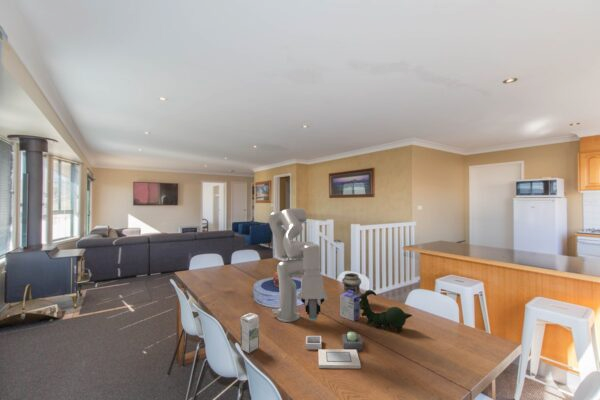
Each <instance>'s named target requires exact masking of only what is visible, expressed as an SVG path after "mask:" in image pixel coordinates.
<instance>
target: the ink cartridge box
mask: <svg viewBox="0 0 600 400" xmlns="http://www.w3.org/2000/svg"><path fill="white" fill-rule="evenodd" d="M349 292H352V293H349ZM342 293H343V292H342ZM342 293H341V294H340V293H339V294H340V295H339V303H340V304H339V305H340V306H339V308H340V309H339V311H340V312H339V315H340V317H342V318H344V319H347V320H350V321H352V322H355V321H358V320H361V319H360V318H361V316H360V315H361V312H360V310H361V309H360V307H361V306H360V305H361V303H360V299H359V296H356V295H353V293H354V291H351V290H348V293H343V294H342Z"/></svg>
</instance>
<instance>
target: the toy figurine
mask: <svg viewBox="0 0 600 400" xmlns="http://www.w3.org/2000/svg"><path fill="white" fill-rule="evenodd" d="M370 295H373V296H377V293H376V292H375V291H374V290H371V289H368V290H365V292H364V293H362V294H361V296H360V300H359V302H360V305H361V306H360V310H362V312H360V315H361V316H362V317H364V316H365V317H366V318H367V320H366V323H367V325H371V323H372V324H373V325H374V328H375V329H379V327H380V326H381V327H382V329H384V330H387V329H389V327H393V328H395V330H396V332H399V333H400V332H402V331H403V327H404V325H405V324H406V320H407V319H409V318H411V317H412V316H413V315H412V314H411V313H407V312H405V311H404V310H403V309H402V308H400V307H397V306H391V307H389V308H388V309H387V310H386V311H382V312H380V313H379V312H375V311H373V310H372V308H371V305H370V304H369V299H368V296H370Z"/></svg>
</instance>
